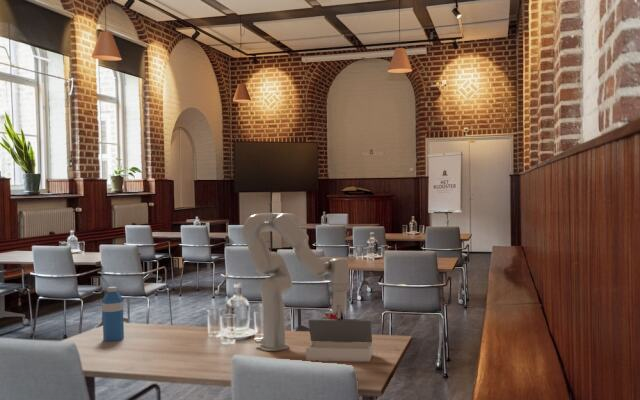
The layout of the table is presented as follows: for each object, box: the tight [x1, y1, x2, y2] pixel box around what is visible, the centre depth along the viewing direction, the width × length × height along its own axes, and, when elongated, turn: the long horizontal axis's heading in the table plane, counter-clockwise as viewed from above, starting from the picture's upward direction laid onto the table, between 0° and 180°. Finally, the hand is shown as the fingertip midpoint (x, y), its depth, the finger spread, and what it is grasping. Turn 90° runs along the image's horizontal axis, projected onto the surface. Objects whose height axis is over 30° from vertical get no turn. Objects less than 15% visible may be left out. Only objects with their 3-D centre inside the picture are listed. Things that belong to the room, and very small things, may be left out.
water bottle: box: [101, 286, 125, 342], centre depth 302 cm, size 9×9×25 cm
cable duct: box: [305, 341, 373, 363], centre depth 260 cm, size 26×11×5 cm, turn 80°
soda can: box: [322, 310, 337, 319], centre depth 296 cm, size 7×7×12 cm
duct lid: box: [308, 318, 373, 344], centre depth 263 cm, size 26×11×1 cm
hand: (340, 330), depth 265 cm, fingers closed
